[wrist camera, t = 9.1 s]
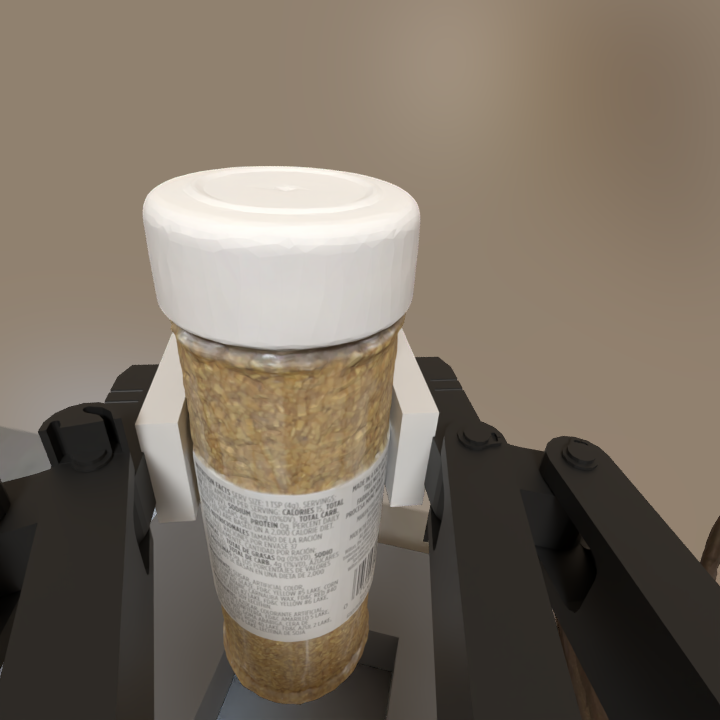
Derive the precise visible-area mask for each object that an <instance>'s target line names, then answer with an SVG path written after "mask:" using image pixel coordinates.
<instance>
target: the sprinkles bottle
mask: <svg viewBox="0 0 720 720" xmlns="http://www.w3.org/2000/svg"><path fill="white" fill-rule="evenodd" d="M143 221H144V228H145V234H146V240H147V247H148V253H149V259H150V263H151V269H152V274H153V280H154V285H155V290H156V296H157V301H158V304H159V306H160V308H161V310H162V311H163V313H164V314H165V315H166V316H167V317H168V318H169V319H170V321H171V323H172V326H171V330H172V331H173V333H174V334H175V337H176V342H177V348H178V355H179V360H180V364H181V368H182V374H183V386H184V389H185V397H186V398H187V407H188V413H189V420H190V431H191V437H192V441H193V459H194V466H195V472H196V477H197V484H198V490H199V495H200V500H201V512H202V518H203V523H204V529H205V534H206V540H207V545H208V551H209V556H210V562H211V568H212V573H213V579H214V584H215V588H216V592H217V595H218V597H219V600H220V602H221V606H222V613H223V617H224V623H223V639H224V647H225V651H226V656H227V659H228V661H229V663H230V665H231V667H232V669H233V671H234V673H235V674H236V676H237V677H238V679H239V681H240V682H241V684H242V685H243V686H244V687H246V688H247V689H249V690H251V691H253V692H254V693H256V694H257V695H258V696H260V697H262V698H265V699H267V700H270V701H273V702H276V703H282V704H303V703H305V702H309V701H313V700H316V699H318V698H320V697H322V696H324V695H325V694H327V693H329V692H331V691H333V690H335V689H336V688H337V687H338V686H339V685H340V684H341V683H342V682H344V681H345V680H346V679H347V678H348V677H349V676H350V674H351V673H352V672H353V671H354V669H355V668H356V665H357V663H358V661H359V660H360V658H361V656H362V654H363V651H364V646H365V644H366V641H367V638H368V632H369V624H368V620H369V612H368V608H367V603H368V592H369V589H370V587H371V584H372V581H373V575H374V569H375V561H376V552H377V543H378V535H379V527H380V519H381V511H382V502H383V493H384V485H385V476H386V467H387V459H388V451H389V442H390V421H389V419H390V409H391V402H392V387H393V377H394V369H395V360H396V355H397V343H398V332H399V331H400V329H401V328H402V326H403V323H404V319H405V314H406V311H407V309H408V308H409V306H410V303H411V302H412V297H413V290H414V281H415V271H416V263H417V254H418V244H419V231H420V211H419V207H418V205H417V203H416V201H415V200H414V198H413V197H412V196H411V195H410V194H408V193H407V192H405V191H404V190H403V189H401V188H400V187H398V186H396V185H393V184H391V183H389V182H386V181H383V180H380V179H377V178H372V177H369V176H365V175H361V174H356V173H350V172H344V171H336V170H328V169H319V168H307V167H291V166H252V167H233V168H223V169H216V170H208V171H200V172H196V173H190V174H186V175H183V176H179V177H176V178H173V179H170V180H168V181H166V182H164V183H162V184H160V185H158V186H157V187H155V188H154V189H153V190H152V191H151V192H150V193H149V194H148V195H147V198H146V199H145V202H144V205H143Z"/></svg>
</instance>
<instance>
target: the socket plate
mask: <svg viewBox="0 0 720 720" xmlns="http://www.w3.org/2000/svg"><path fill="white" fill-rule="evenodd" d="M150 529H151V533H152V536H153V540H154V720H216V719H217V717H218V714H219V712H220V709H221V707H222V704H223V702H224V699H225V697H226V695H227V692H228V690H229V687H230V685H231V682H232V680H233V677H234V675H235V673H234V671H233V669H232V667H231V665H230V663H229V661H228V659H227V656H226V651H225V647H224V639H223V623H224V617H223V613H222V606H221V602H220V600H219V597H218V595H217V592H216V588H215V584H214V579H213V573H212V568H211V562H210V556H209V551H208V545H207V540H206V534H205V529H204V523H203V518H202V512H201V502H199V506H198V511H197V516H196V520H194V521H180V522H165V523H159V520H158V516H157V514H156V516H155V517H154V519H153V520H152V521H151V523H150ZM367 608H368V612H369V620H368V624H369V632H368V638H367V641H366V644H365V646H364V651H363V654H362V656H361V658H360V660H359V661H358V663H360V664H364V665H368V666H372V667H375V668H379V669H383V670H387V671H391V672H392V676H391V683H390V690H389V697H388V703H387V710H386V717H385V720H437V707H436V686H435V665H434V644H433V623H432V602H431V581H430V560H429V554H427V553H423V552H418V551H414V550H409V549H405V548H400V547H396V546H392V545H387V544H383V543H377V552H376V561H375V569H374V575H373V581H372V584H371V587H370V589H369V592H368V603H367Z"/></svg>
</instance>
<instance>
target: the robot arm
mask: <svg viewBox="0 0 720 720" xmlns="http://www.w3.org/2000/svg"><path fill="white" fill-rule="evenodd" d="M389 421H390V442H389V451H388V459H387V467H386V476H385V487H386V491H387V495H388V499H389V503H390V507H396V506H411V505H422V503H423V497H424V491H425V489H426V492H427V494H428V498H429V501H430V504H431V505H430V510H429V515H428V520H427V525H426V530H425V535H424V540H423V541H424V542H428V540H429V560H430V581H431V602H432V623H433V644H434V665H435V686H436V707H437V720H582V718H581V715H580V711H579V707H578V704H577V700H576V696H575V693H574V689H573V685H572V681H571V678H570V674H569V670H568V667H567V663H566V659H565V656H564V652H563V648H562V645H561V641H560V637H559V633H558V630H557V626H556V622H555V619H554V615H553V611H554V613H555V615H556V617H557V619H558V621H559V623H560V625H561V627H562V629H563V631H564V632H565V634H566V636H567V638H568V640H569V642H570V644H571V646H572V648H573V650H574V652H575V654H576V656H577V658H578V660H579V662H580V664H581V666H582V668H583V670H584V672H585V674H586V675H587V677H588V679H589V681H590V683H591V685H592V687H593V689H594V691H595V693H596V695H597V697H598V699H599V701H600V703H601V705H602V707H603V709H604V711H605V713H606V715H607V717H608V718H609V720H720V586H719V585H718V583H717V582H716V581H715V580H714V579H713V578H712V576H711V575H710V574H709V573H708V572H707V571H706V569H705V568H704V567H703V566H702V565H701V563H700V562H699V561H698V560H697V559H696V558H695V557H694V555H693V554H692V553H691V552H690V551H689V549H688V548H687V547H686V546H685V545H684V544H683V542H682V541H681V540H680V539H679V538H678V537H677V535H676V534H675V533H674V532H673V531H672V530H671V529H670V527H669V526H668V525H667V524H666V523H665V521H664V520H663V519H662V518H661V517H660V515H659V514H658V513H657V512H656V511H655V510H654V508H653V507H652V506H651V505H650V504H649V503H648V501H647V500H646V499H645V498H644V497H643V496H642V494H641V493H640V492H639V491H638V490H637V489H636V487H635V486H634V485H633V484H632V483H631V482H630V480H629V479H628V478H627V477H626V476H625V474H624V473H623V472H622V471H621V470H620V469H619V467H618V466H617V465H616V464H615V463H614V461H612V459H611V458H610V457H609V456H608V455H607V454H606V453H605V452H604V451H603V450H602V449H600V448H599V447H598V446H596V445H594V444H592V443H590V442H589V441H586V440H583V439H579V438H576V437H568V436H561V437H557V438H553V439H552V440H551V441H550V442H548V444H547V446H546V448H545V451H538V450H532V449H527V448H522V447H517V446H514V445H510V444H507V442H506V440H505V438H504V436H503V435H502V434H501V433H500V432H499V431H498V430H497V429H496V428H494V427H493V426H490V425H488V424H486V423H484V422H481V421H480V419H479V417H478V416H477V414H476V412H475V410H474V408H473V406H472V405H471V403H470V401H469V399H468V397H467V396H466V394H465V392H464V390H462V386H461V385H460V383H459V381H457V377H456V375H455V374H454V372H453V370H452V368H451V367H450V366H449V365H448V364H446V363H445V362H444V361H443V360H441V359H440V358H439V357H414V354H413V353H412V350H411V348H410V345H409V343H408V341H407V339H406V336H405V334H404V332H403V330H402V328H401V329H400V331H399V332H398V343H397V355H396V360H395V369H394V377H393V387H392V402H391V409H390V419H389ZM38 433H39V435H40V438H41V440H42V443H43V446H44V448H45V451H46V453H47V456H48V458H49V461H50V463H51V469H49V470H46V471H43V472H40V473H37V474H34V475H30V476H26V477H22V478H19V479H15V480H11V481H7V482H3V483H2V482H1V479H0V669H1V667H2V665H3V668H2V672H1V677H0V720H154V540H153V536H152V533H151V529H150V522H151V519H152V516H153V512H154V509H155V508H156V512H157V516H158V520H159V523H165V522H180V521H194V520H196V516H197V511H198V506H199V500H200V495H199V490H198V484H197V477H196V472H195V466H194V459H193V441H192V437H191V431H190V420H189V413H188V407H187V398H186V397H185V389H184V386H183V374H182V368H181V364H180V360H179V355H178V348H177V342H176V337H175V334H174V333H172V335H171V338H170V340H169V342H168V345H167V347H166V350H165V352H164V355H163V357H162V360H161V362H160V364H158V365H132V366H131V367H129V368H128V369H127V370H126V371H124V372H123V373H122V374H121V375H119V376H118V377H117V379H116V381H115V383H114V384H113V387H112V388H111V393H109V394H108V396H107V398H106V400H105V404H104V403H99V402H97V403H83V404H79V405H75V406H71V407H68V408H66V409H64V410H61V411H59V412H57V413H55V414H54V415H52V416H51V417H50V418H48V419H47V420H46V421H45V422H44V423H43V424H42V426H41V427H40V429H39V431H38ZM551 607H552V608H551ZM552 609H553V611H552ZM3 663H4V664H3Z"/></svg>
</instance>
